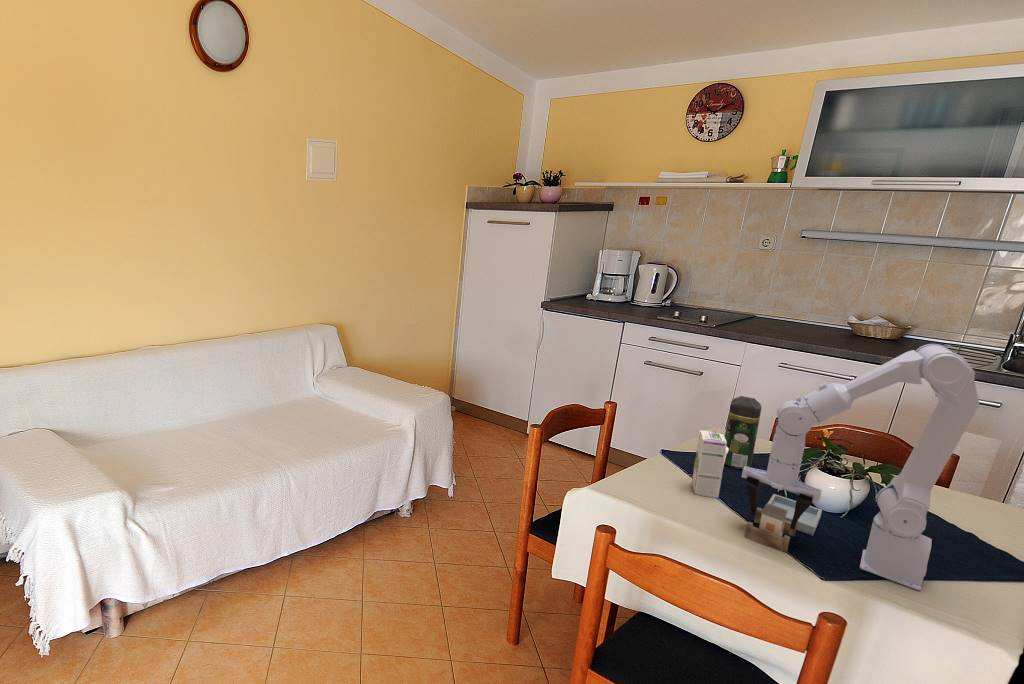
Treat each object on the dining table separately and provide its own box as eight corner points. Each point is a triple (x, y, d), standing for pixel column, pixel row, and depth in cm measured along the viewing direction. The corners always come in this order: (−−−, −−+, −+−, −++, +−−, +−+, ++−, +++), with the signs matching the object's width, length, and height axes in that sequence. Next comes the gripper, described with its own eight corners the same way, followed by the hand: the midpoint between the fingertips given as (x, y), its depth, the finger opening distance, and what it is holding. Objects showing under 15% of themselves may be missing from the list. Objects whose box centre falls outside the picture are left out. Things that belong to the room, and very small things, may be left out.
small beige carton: (782, 536, 112) (787, 510, 111) (778, 544, 109) (783, 517, 107) (761, 528, 114) (766, 503, 113) (757, 536, 111) (762, 510, 110)
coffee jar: (722, 453, 153) (732, 392, 149) (751, 460, 150) (763, 397, 146) (718, 465, 145) (730, 400, 141) (750, 473, 141) (762, 407, 137)
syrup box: (718, 498, 126) (729, 441, 123) (693, 494, 127) (702, 437, 124) (714, 487, 131) (724, 432, 128) (690, 483, 132) (699, 429, 129)
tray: (820, 517, 121) (822, 509, 120) (813, 536, 113) (815, 527, 112) (772, 501, 127) (773, 493, 126) (761, 517, 119) (763, 509, 118)
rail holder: (794, 534, 113) (797, 521, 112) (786, 553, 105) (789, 538, 105) (755, 520, 117) (757, 507, 117) (744, 536, 110) (747, 523, 109)
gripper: (742, 453, 109) (731, 513, 112) (822, 477, 100) (808, 541, 103) (751, 444, 114) (740, 501, 117) (827, 466, 106) (814, 527, 109)
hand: (772, 519), depth 111 cm, fingers open, 7 cm apart
